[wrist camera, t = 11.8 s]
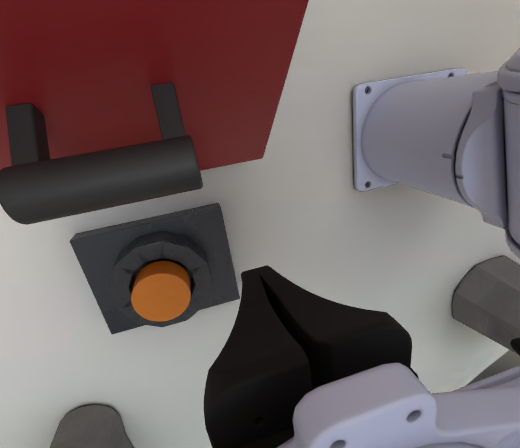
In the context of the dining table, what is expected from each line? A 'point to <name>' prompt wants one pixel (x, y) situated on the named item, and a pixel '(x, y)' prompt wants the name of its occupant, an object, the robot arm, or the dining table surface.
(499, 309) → the coffeepot
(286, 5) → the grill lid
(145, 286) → the power button
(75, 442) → the flask
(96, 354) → the dining table surface
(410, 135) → the robot arm
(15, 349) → the dining table surface
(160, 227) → the switch box
